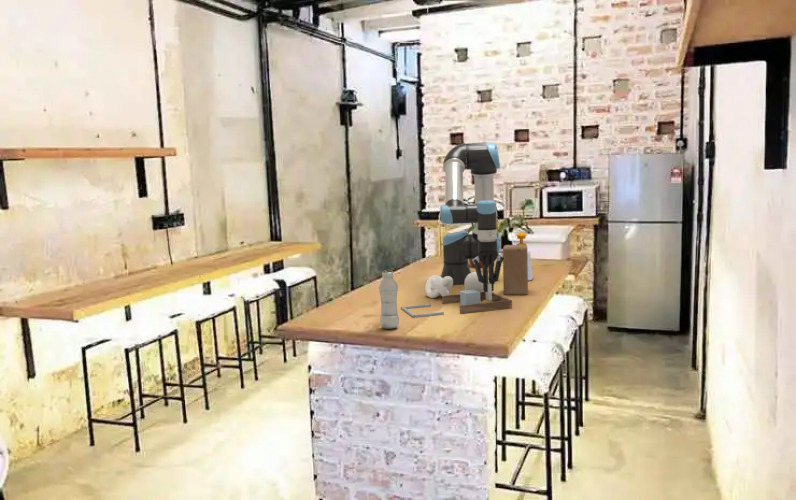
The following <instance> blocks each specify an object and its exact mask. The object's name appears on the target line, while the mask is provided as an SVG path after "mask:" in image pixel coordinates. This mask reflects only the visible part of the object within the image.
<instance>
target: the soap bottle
mask: <svg viewBox="0 0 796 500" xmlns="http://www.w3.org/2000/svg"><path fill="white" fill-rule="evenodd" d="M515 236H516V240H517V239H518V240H519V243H516V245H527V243H524V240H525V239H526V238H527V236H528V234H527V233H525V232H523V231H521V232H517V233H516V234H515ZM527 256H528V282H530V281H532V280H533V271H532V270H533V268H532V257H531V250H530V249H529V248H527Z"/></svg>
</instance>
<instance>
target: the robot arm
mask: <svg viewBox="0 0 796 500" xmlns="http://www.w3.org/2000/svg"><path fill="white" fill-rule="evenodd" d="M442 165H443V166H442V170H443V172H444V173H445V174H444V175H445V176H444V177H445V179H444V180H445V181H444V182H445V183H444V184H445V185H444V186H445V188H444V189H445V190H444V191H445V193H444V195H445V196H444V197H445V202H444V203H445V204H444V205H441V206H440V208H439V209H440V212H439V213H440V214H439V215H440V216H439V217H440V222H441V224H445V225H446V224H448V225H455V224H456V225H458V224H471V223H473V224H474V229H473V230H471V233H469V234H468V230H467V231H466V230H463V231H462V230H461V231H455V232H450V233H446V234H445V235H444V236H443V237H442V247H443V248H442V250H443V251H442V252H443V253H442V255H443V259H442V260H443V266H442V269H441V274H440V276H441V277H442V278H444V277H446V276H450V277H451V278H452V279H453V285H462V284H463V285H464V282H465V278H466V277H467V275H468V274H470V273H472V271H471V269H470V266H469V259H472V262H473V263H474V265H475V267H474V268H475V269H474V270H475V271H476V273H477V277H478V281H479V282H481V283H483V290H484V292H486V299H485V300H486V301H493V300H492V292H494V290H495V288H494V285H495V283H496V282H498V281H499V279H500V278H499V277H500V274H501V269H502V265H503V260H504V258H503V256H501V255H500V252H501V251H500V250H501V242H502V240H501V239H502V238H501V237H502V236H501V233H499V232H498V229H497V228H498V227H497V226H498V225H497V222H498V221H497V220H498V219H497V211H498V208H497V207H498V206H497V202H496V201H495V195H494V194H495V193H494V192H495V189H494V183H495V182H494V179H495V178H494V176H495V175H496V174H497V172H498V169H500V168H501V164H500V156H499V150H498V145H497V143H495V142H487V141H482V142H472V143H470V142H469V143H468V142H467V143H465V142H464V143H459V144H457V145H455V146H453V147H452V148H451V149H450V150H449V151H448V152H447V153H446V155H445V156H444V159H443V164H442ZM465 170H467V171H468V170H470V175H472V176H473V179H474V181H473V182H474V204H464V174H463V173H464V172H465ZM479 260H480V261H481V262H482V267H480V265H479ZM495 261H496V262H495ZM481 268H482V269H481ZM482 273H483V276H482ZM488 280H489V283H488Z"/></svg>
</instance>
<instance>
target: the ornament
mask: <svg viewBox="0 0 796 500" xmlns="http://www.w3.org/2000/svg"><path fill="white" fill-rule="evenodd" d="M482 276H483V273H482ZM488 283H489V279H488ZM463 285H464V289H465V290H476V291H478V292H484V290H483V283H481V282H479V281H478V277H477V273H476V270H475V271H473V272H472V271H471V273H470V274H468V275H467V277H466V278H465V282H464V284H463Z"/></svg>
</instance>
